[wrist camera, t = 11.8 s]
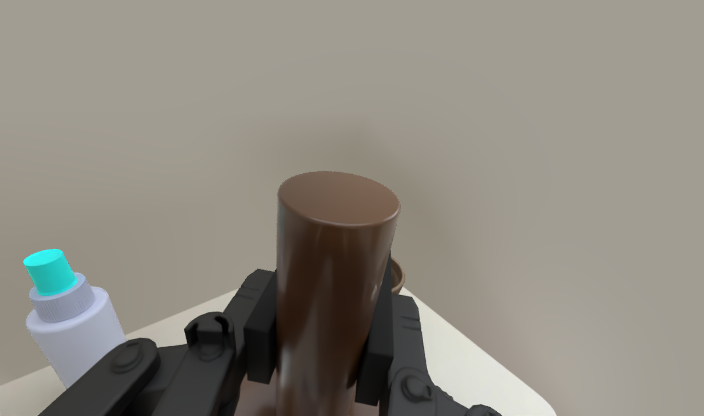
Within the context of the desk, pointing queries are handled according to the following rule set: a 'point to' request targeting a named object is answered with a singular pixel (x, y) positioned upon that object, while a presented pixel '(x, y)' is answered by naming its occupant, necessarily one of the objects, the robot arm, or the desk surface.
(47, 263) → the spray bottle
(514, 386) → the desk surface
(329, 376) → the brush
